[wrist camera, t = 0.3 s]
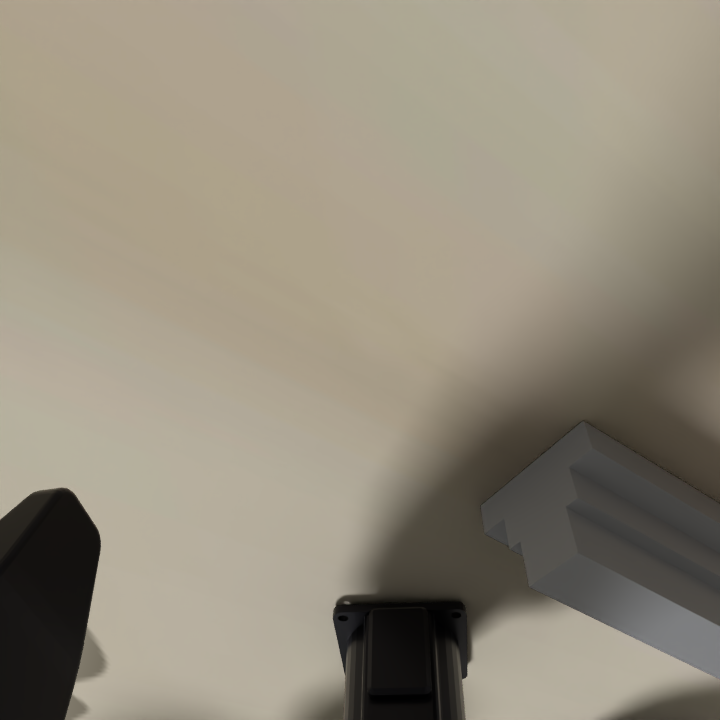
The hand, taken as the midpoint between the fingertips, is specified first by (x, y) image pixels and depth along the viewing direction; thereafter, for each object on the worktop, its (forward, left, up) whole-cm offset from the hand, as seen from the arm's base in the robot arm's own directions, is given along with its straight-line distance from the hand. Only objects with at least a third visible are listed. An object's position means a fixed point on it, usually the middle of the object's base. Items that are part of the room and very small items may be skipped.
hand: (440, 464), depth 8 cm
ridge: (-20, -10, -14) cm, 26 cm away
